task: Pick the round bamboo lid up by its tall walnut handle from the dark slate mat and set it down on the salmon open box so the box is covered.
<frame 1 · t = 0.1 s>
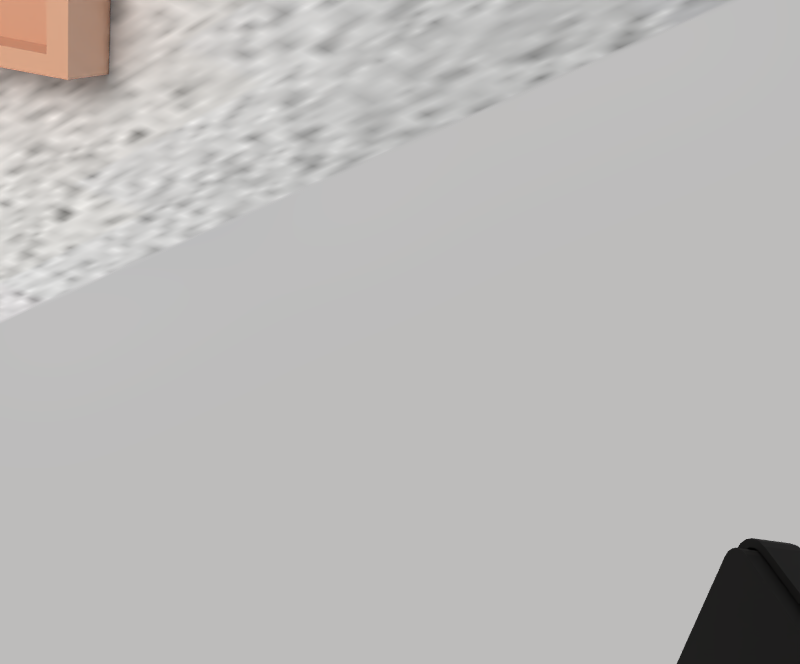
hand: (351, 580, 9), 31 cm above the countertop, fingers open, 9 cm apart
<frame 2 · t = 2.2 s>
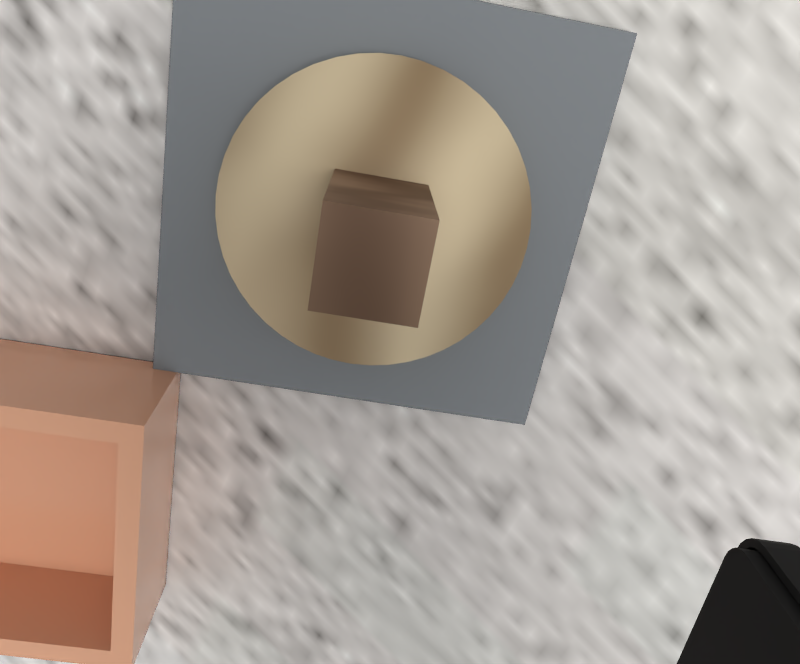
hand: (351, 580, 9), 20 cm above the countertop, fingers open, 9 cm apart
mat: (374, 211, 27), on the countertop
salmon open box: (37, 464, 32), on the countertop
lid: (374, 215, 27), point 1 cm above the countertop, touching mat
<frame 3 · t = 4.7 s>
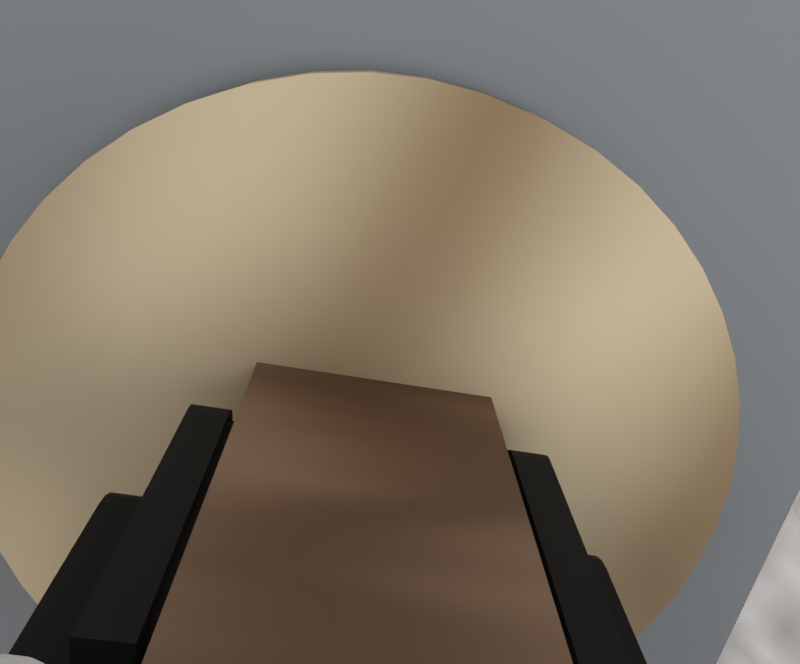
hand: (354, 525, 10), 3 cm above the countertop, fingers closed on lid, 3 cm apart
mat: (358, 414, 12), on the countertop
lid: (359, 437, 12), point 1 cm above the countertop, touching gripper
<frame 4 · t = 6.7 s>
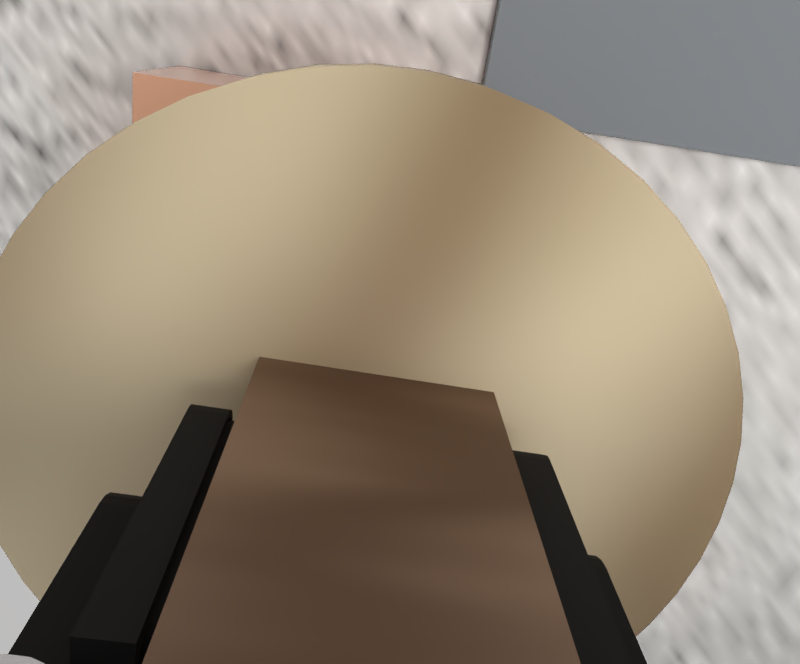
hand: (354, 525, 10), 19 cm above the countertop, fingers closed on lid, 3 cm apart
salmon open box: (325, 248, 28), on the countertop
lid: (361, 432, 12), point 17 cm above the countertop, touching gripper
when the fingers open (9 cm above the countertop, at t = 9.2 s): lid drops 1 cm, resting on salmon open box.
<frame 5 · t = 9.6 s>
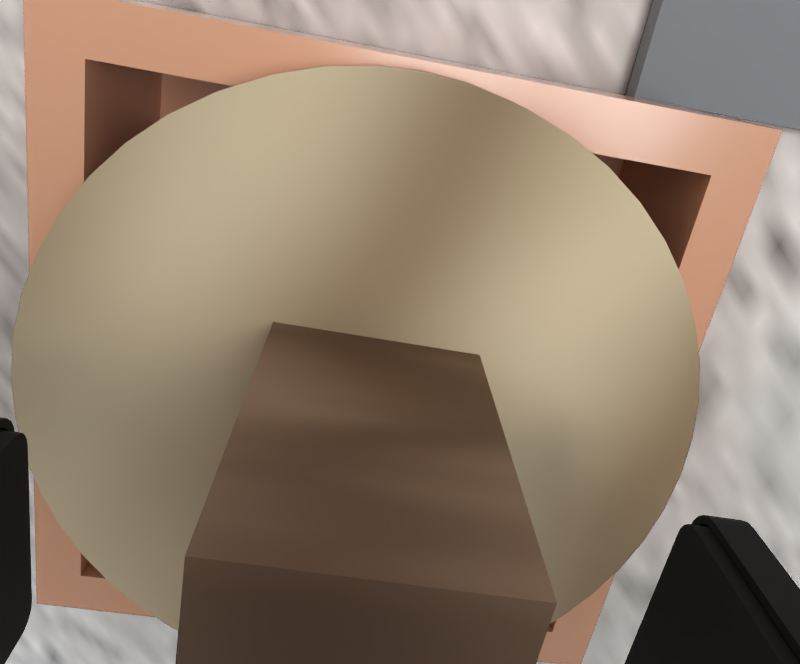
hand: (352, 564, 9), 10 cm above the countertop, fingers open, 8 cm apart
salmon open box: (366, 304, 18), on the countertop
lid: (362, 395, 13), point 5 cm above the countertop, touching salmon open box
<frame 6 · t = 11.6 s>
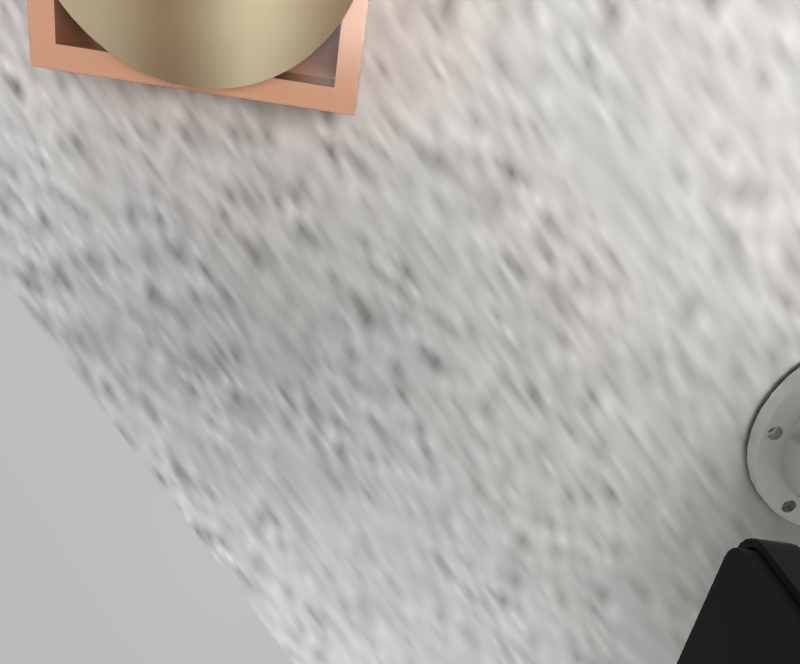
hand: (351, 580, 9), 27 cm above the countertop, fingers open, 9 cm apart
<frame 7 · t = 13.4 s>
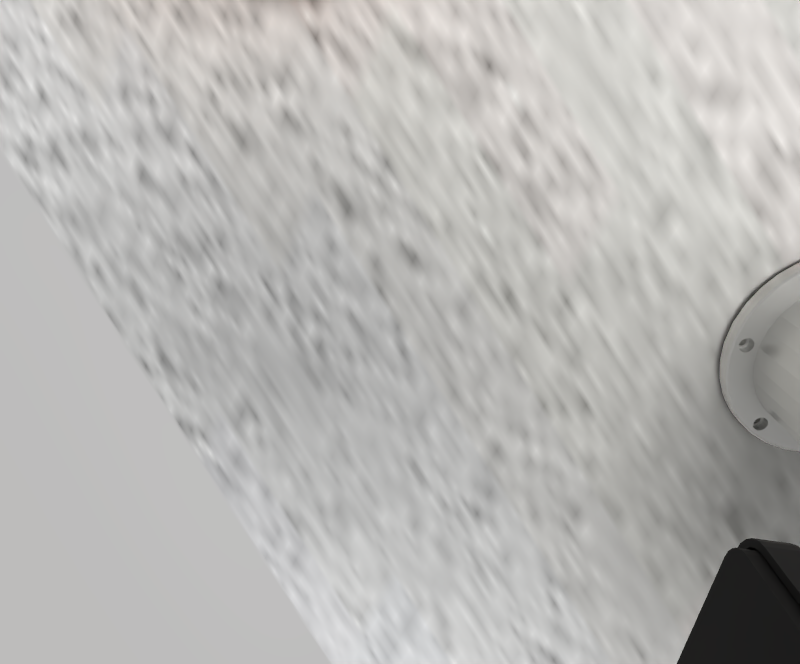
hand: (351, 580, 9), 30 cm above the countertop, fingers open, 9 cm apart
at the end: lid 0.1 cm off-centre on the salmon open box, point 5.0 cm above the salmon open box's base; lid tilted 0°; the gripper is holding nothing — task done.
